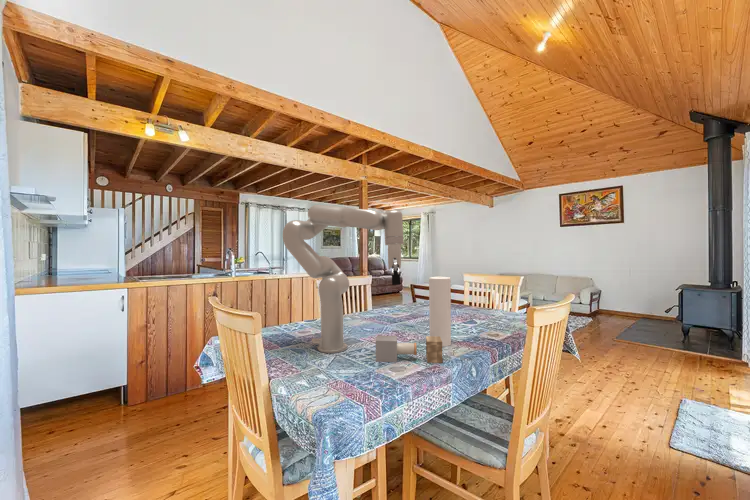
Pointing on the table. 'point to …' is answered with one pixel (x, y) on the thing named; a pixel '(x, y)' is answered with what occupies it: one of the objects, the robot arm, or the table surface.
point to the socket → (434, 349)
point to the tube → (407, 348)
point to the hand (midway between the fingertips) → (396, 283)
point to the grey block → (386, 349)
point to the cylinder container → (440, 308)
